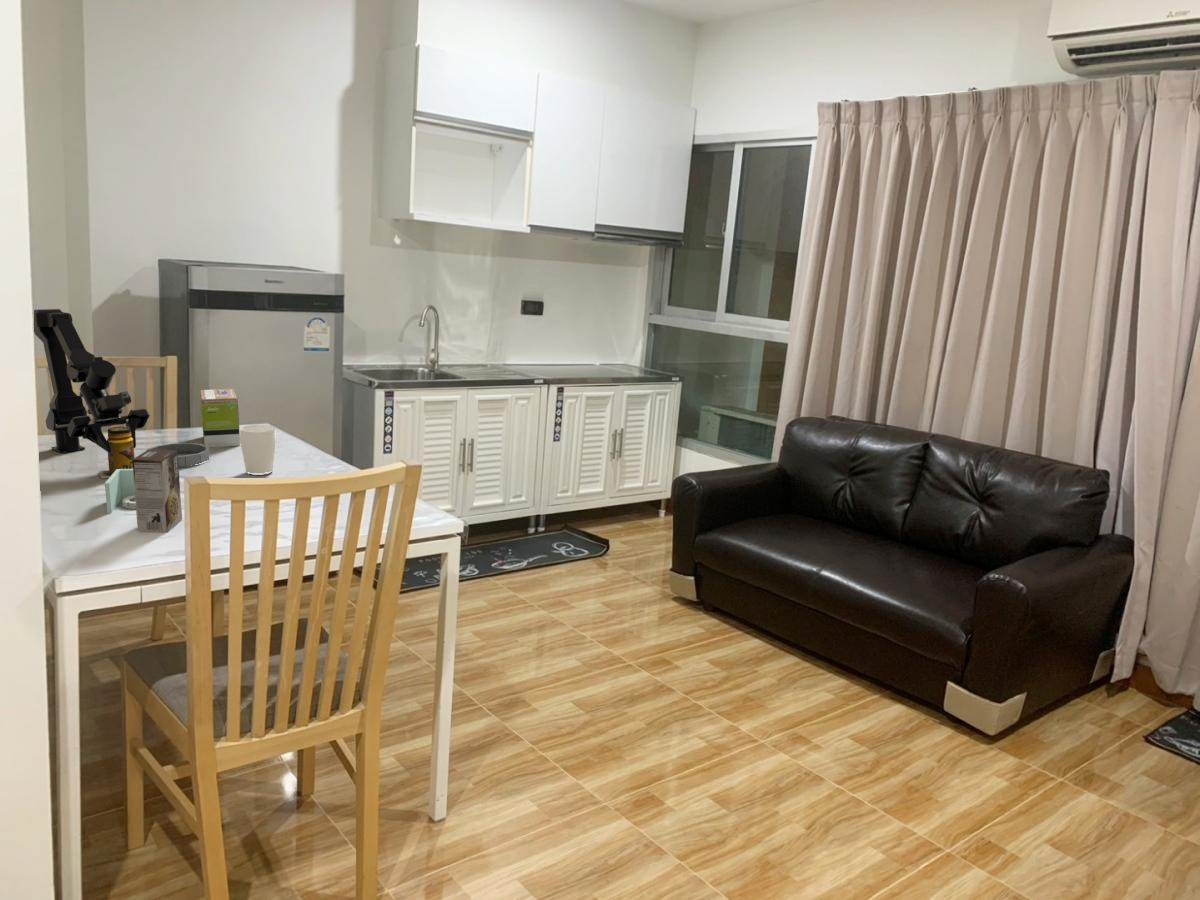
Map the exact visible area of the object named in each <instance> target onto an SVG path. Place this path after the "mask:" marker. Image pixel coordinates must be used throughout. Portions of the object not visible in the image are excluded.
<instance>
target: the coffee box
mask: <svg viewBox="0 0 1200 900" xmlns="http://www.w3.org/2000/svg"><path fill="white" fill-rule="evenodd" d="M147 449H148V450H147ZM147 449H146V450H145V451H143V452H142V453H141V454H139V455H137V456H135V458H134V459H133V460H132V461H133V474H134V487H135V500H136V509H135V510H136V511H135V513H136V523H137V525H136V526H137V527H136V528H137V532H139V533H164V534H165V533H169V531H170V530H172V529H173V528H174V527H175V526H176V525H178V523H180V521H182V520H183V513H182V512H183V511H182V498H181V483H180V482H181V481H180V470H179V469H180V467H178V454H177V450H162V449H149V448H147Z"/></svg>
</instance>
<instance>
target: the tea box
mask: <svg viewBox="0 0 1200 900" xmlns="http://www.w3.org/2000/svg"><path fill="white" fill-rule="evenodd" d="M199 391H200V409H201V411H200V412H201V423H202V424H201V425H202V427H201V428H202V435H203V445H205V446H208V447H209V448H220V447H223V448H225V447H238V446H239V447H240V446H241V443H240V417H239V402H238V397H237V394H236V391H235V389H234V388H221V389H217V388H216V389H200V390H199Z"/></svg>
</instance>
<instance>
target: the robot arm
mask: <svg viewBox="0 0 1200 900" xmlns="http://www.w3.org/2000/svg"><path fill="white" fill-rule="evenodd" d="M33 311H34V330H33V332H34V334H35V336H36V337H37V338H38V339H39V340H40V341H41V342H42V343H43V347H44V352H45V358H46V362H47V366H48V372H49V373H48V374H49V377H50V382H51V385H52V391H53V395H52V398H51V400H50V402H49V405H48V406H49V410H48V413H47V415H46V418H45V426H46V428H47V429H48V430H49V431H52V432H54V435H55V436H54V437H55V446H51V450H53V451H56V452H58V453H60V452H63V453H68V452H75V451H81V450H82V451H83V450H85V449H86V447H85V446H83V445H81V444H80V442H81V441H80V438H82V439H84V440H88V441H90V442H92V443H93V444H96V445H97V446H98V447H100V448H101V449H103V451H105V452H107V453H108V452H110V451H111V449H110V446H109V444H108V442H107V438H106V437H105V435H104V433H103V431H102V428H105V427H111V426H112V427H113V426H114V427H115V426H119V425H120V426H121V425H122V427H129V428H130V429H131V437H132V438H133V446H134V449H136V447H137V440H136V439H137V438H136V430H137V429H142V428H144V427H145V426H146V424H147V422H148V420H149V418H150V413H149V411H148V410H147V409H145V408H136V409H130V411H129V412H128V414H127V415H124V416H120V414H122V413H123V409H122V408H125V407H127V405H129V404H131V403H132V398H131V394H129V391H120V393H117V394H109V392H108V390H107V389H109V388H110V386H111V384H112V381H113V379H114V377H115V374H116V370H117V369H116V366H115V365H114V364H113V363H111V362H110V361H108V360H105V359H104V358H103V357H102V356H95V355H94V354H93V353H91V352H90V351H88V350H87V349H86V347H85V345H84V344H83V342H82V340H81V337H80V335H79V334H78V333H79V332H78V331H77V329H76V327H75V325H74V323H73V317H72V314H71V313H70V312H63V311H62V310H61V309H60V308H46V309H45V308H44V309H42V308H41V309H34V310H33ZM72 383H76V384H79V383H81V385H80V387H79V395H78V394H77V393H76V392H75V391H74V390H73V389H74V388H73V386H72ZM83 399H84V401H85V404H86V405H87V407H88V409H86V407H85V406H84V403H83ZM90 415H91V416H92V418H91V416H90Z"/></svg>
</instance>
